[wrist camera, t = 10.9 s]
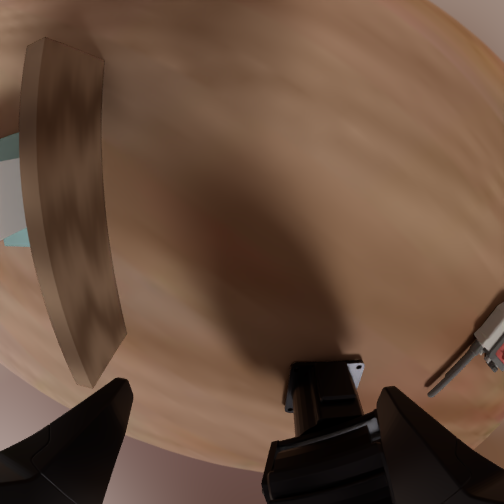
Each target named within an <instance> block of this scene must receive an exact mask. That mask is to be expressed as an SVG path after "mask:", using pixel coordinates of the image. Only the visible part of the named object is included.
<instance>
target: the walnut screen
mask: <svg viewBox="0 0 504 504" xmlns="http://www.w3.org/2000/svg"><path fill="white" fill-rule="evenodd" d="M103 71H104V60H102V59H100V58H97V57H95V56H93V55H90V54H88V53H85V52H83V51H80V50H78V49H75V48H73V47H70V46H68V45H65V44H63V43H60V42H57V41H54V40H52V39H49V38H46V37H45V38H42V39H40V40H38V41H36V42H34V43H32V44H30V45H28V46H27V49H26V55H25V61H24V68H23V76H22V85H21V96H20V112H19V160H20V177H21V188H22V198H23V206H24V213H25V220H26V226H27V232H28V238H29V243H30V248H31V253H32V257H33V262H34V266H35V270H36V274H37V278H38V282H39V285H40V289H41V292H42V296H43V299H44V302H45V306H46V309H47V312H48V315H49V318H50V321H51V324H52V327H53V329H54V332H55V335H56V338H57V340H58V343H59V345H60V348H61V350H62V353H63V355H64V358H65V360H66V362H67V365H68V367H69V369H70V371H71V374H72V376H73V378H74V380H75V382H76V384H77V385H81V386H84V387H88V388H92V389H93V388H94V386H95V384H96V383H97V381H98V379H99V378H100V376H101V375H102V373H103V371H104V370H105V368H106V366H107V365H108V363H109V362H110V360H111V358H112V357H113V355H114V354H115V352H116V350H117V349H118V347H119V346H120V344H121V343H122V341H123V339H124V338H125V336H126V335H127V331H126V327H125V323H124V319H123V315H122V310H121V306H120V301H119V296H118V291H117V286H116V281H115V275H114V270H113V264H112V258H111V251H110V244H109V237H108V229H107V221H106V212H105V201H104V189H103V174H102V150H101V109H102V86H103Z"/></svg>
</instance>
